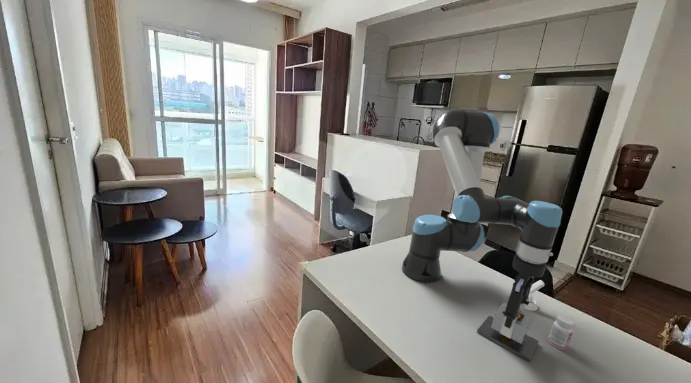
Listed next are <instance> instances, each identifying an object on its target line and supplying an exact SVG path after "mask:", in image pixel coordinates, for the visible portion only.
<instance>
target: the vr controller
mask: <svg viewBox="0 0 691 383" xmlns="http://www.w3.org/2000/svg"><path fill="white" fill-rule="evenodd" d="M544 286H545V282H544V281H543V280H541V279H540V280H538V281H536V282H533V284H532V287H531V289H530V293H529V296H528V297H529V298H528V299H527V300H526V301H528V302H529V304H528V305H526V304H524V303H523V304H524V305H525V307H524V310H527V311H532V312H533V311H537V310H538V304H537V301H536V300H535V299H534V296H533V295H532V294H534V293H536V292H537V291H539V290H540V289H541V288H543V287H544ZM530 303H532V304H530Z"/></svg>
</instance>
